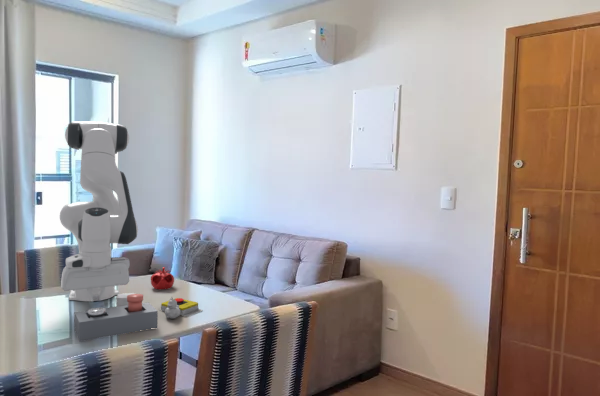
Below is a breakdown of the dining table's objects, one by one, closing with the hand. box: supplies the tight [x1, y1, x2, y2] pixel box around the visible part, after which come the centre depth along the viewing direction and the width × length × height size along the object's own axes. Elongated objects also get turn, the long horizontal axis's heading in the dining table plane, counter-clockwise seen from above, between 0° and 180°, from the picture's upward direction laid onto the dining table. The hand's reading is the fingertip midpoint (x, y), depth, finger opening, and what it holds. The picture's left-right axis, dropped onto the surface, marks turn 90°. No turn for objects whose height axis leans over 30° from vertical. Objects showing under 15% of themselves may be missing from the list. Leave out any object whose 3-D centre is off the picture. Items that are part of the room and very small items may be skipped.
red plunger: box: [127, 293, 144, 312], centre depth 159 cm, size 5×5×5 cm
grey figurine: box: [164, 297, 180, 319], centre depth 170 cm, size 5×7×8 cm
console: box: [73, 302, 159, 342], centre depth 157 cm, size 11×24×6 cm, turn 123°
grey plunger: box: [88, 307, 106, 318], centre depth 153 cm, size 5×5×5 cm
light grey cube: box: [116, 292, 136, 307], centre depth 175 cm, size 6×6×6 cm
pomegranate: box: [150, 267, 175, 291], centre depth 208 cm, size 10×10×9 cm
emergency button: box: [160, 297, 203, 318], centre depth 179 cm, size 9×4×15 cm
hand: (95, 300), depth 153 cm, fingers closed
